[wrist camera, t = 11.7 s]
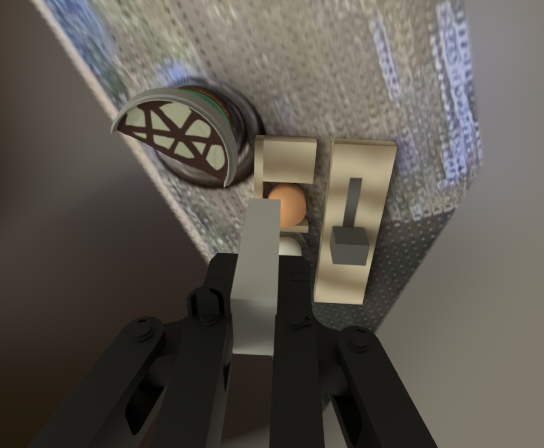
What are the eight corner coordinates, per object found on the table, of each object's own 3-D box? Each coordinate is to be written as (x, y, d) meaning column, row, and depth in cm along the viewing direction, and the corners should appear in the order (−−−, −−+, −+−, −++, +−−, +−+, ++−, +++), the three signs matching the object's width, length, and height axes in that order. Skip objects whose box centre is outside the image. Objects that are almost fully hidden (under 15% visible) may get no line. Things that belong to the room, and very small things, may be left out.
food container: (264, 107, 40) (257, 134, 31) (241, 153, 43) (229, 189, 34) (160, 51, 37) (122, 64, 29) (143, 104, 40) (104, 130, 32)
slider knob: (332, 226, 45) (335, 243, 42) (363, 227, 45) (369, 245, 42) (329, 245, 47) (332, 264, 43) (359, 246, 46) (365, 265, 43)
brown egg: (268, 181, 44) (267, 191, 41) (306, 183, 44) (307, 193, 41) (267, 214, 46) (266, 226, 44) (303, 216, 46) (304, 227, 44)
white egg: (266, 235, 46) (264, 247, 44) (302, 237, 46) (303, 249, 44) (265, 264, 49) (264, 277, 46) (300, 266, 49) (300, 279, 46)
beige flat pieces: (256, 134, 41) (254, 140, 40) (393, 140, 41) (397, 146, 39) (254, 289, 54) (253, 299, 52) (359, 294, 54) (362, 304, 52)
